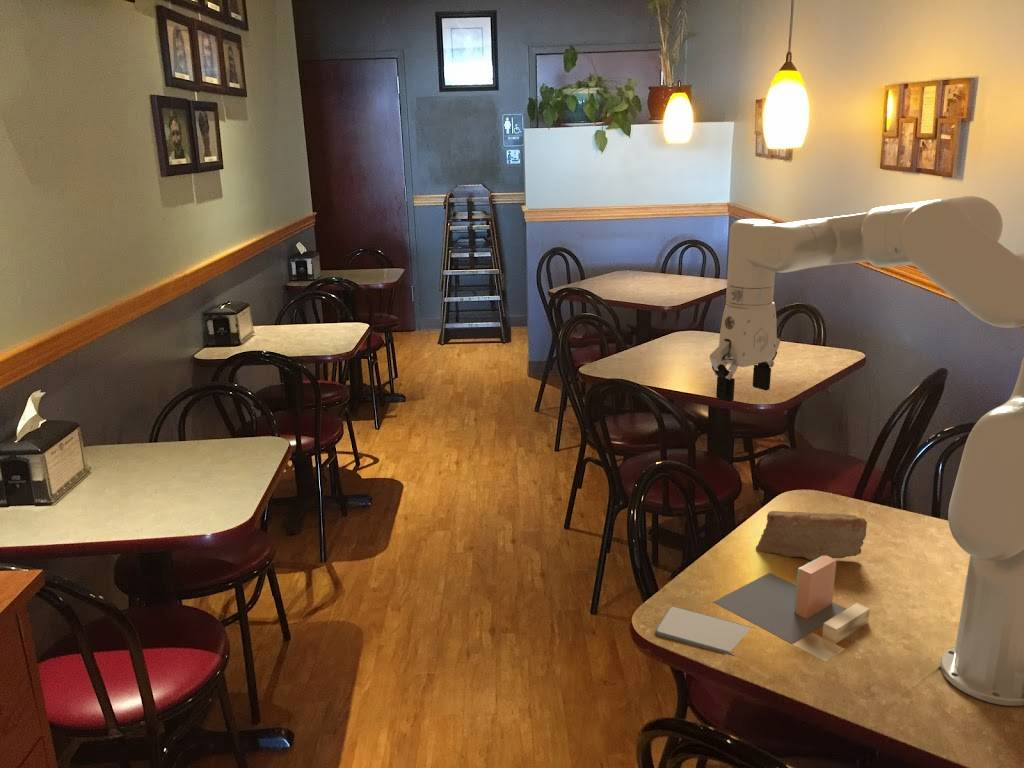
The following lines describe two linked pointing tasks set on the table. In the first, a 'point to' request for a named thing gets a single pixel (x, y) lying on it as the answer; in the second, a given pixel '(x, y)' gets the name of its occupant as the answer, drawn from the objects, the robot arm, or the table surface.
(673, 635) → the smartphone
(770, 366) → the robot arm
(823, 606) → the tile
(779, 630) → the mat
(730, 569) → the table surface
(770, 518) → the stone
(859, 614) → the turner
